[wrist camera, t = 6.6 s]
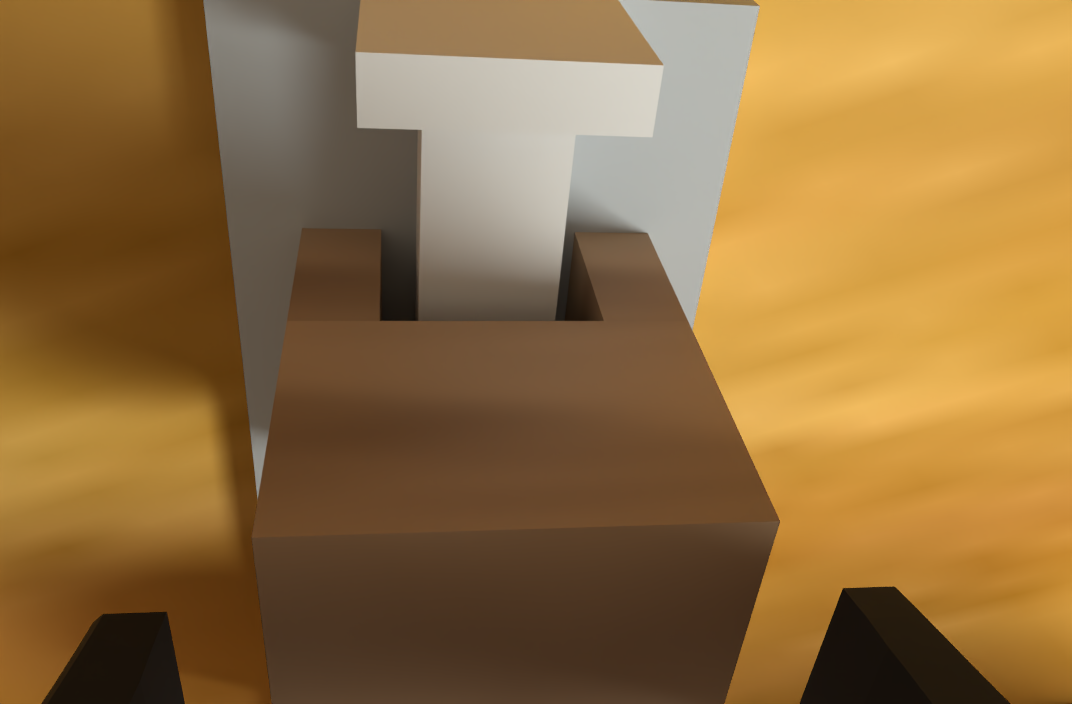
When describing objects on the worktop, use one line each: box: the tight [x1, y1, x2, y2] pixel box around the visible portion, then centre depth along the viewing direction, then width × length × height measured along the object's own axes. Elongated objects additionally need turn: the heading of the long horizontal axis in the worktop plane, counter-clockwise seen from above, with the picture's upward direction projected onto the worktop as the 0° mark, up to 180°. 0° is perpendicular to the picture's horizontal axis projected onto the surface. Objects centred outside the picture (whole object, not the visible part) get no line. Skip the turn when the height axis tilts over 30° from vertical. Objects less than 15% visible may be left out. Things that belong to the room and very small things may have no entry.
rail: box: [203, 0, 760, 498], centre depth 16 cm, size 16×7×3 cm, turn 175°
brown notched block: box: [252, 228, 780, 704], centre depth 13 cm, size 4×5×6 cm
